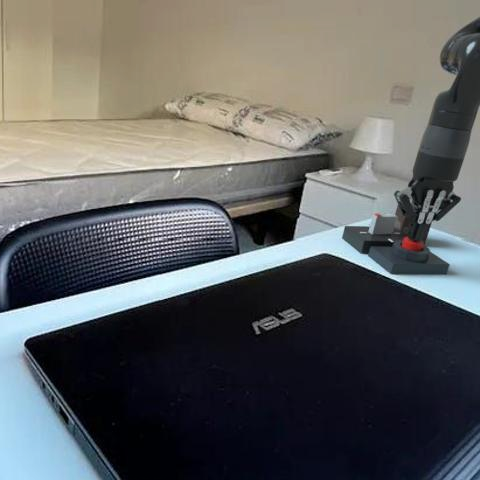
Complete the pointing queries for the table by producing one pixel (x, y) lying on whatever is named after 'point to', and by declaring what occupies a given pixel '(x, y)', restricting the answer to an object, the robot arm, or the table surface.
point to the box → (407, 223)
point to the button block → (407, 260)
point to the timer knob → (382, 224)
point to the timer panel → (369, 238)
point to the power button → (412, 244)
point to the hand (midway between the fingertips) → (414, 239)
